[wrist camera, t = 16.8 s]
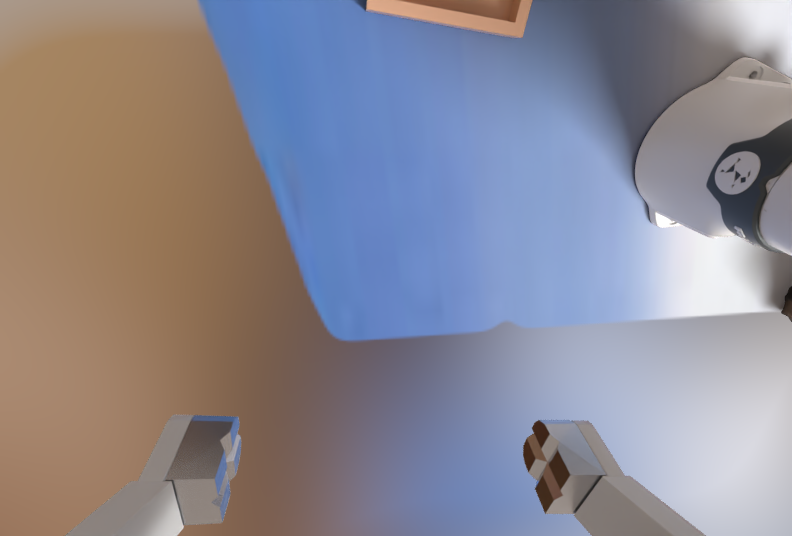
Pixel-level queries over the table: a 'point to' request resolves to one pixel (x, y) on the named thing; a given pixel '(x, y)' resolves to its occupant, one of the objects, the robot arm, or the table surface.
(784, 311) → the brown owl figurine
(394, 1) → the terracotta tray
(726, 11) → the table surface
